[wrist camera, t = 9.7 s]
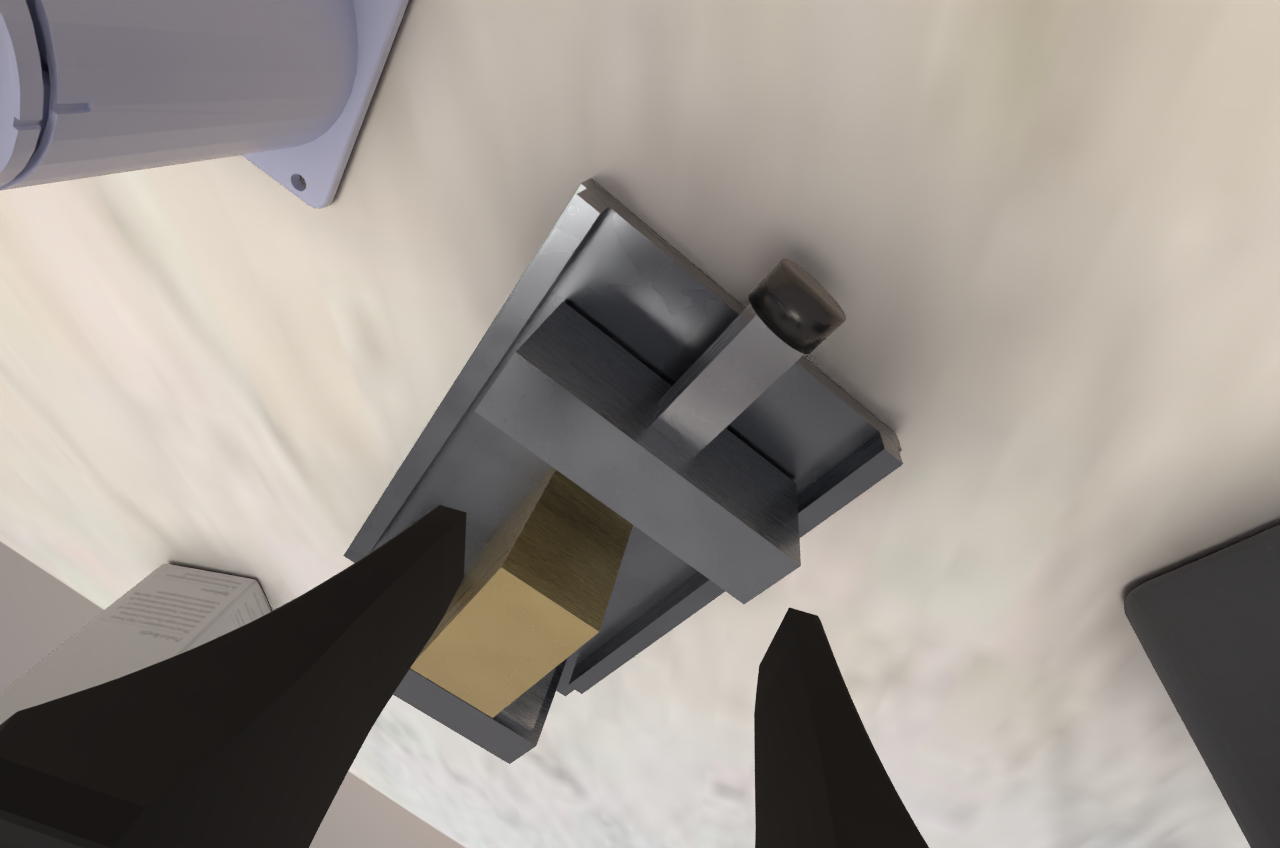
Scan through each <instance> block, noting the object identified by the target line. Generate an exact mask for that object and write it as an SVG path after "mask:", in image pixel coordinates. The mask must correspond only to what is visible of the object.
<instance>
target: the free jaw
mask: <svg viewBox="0 0 1280 848" xmlns="http://www.w3.org/2000/svg"><path fill="white" fill-rule="evenodd" d="M749 301H750V304H749V305H748V306H747V307H746V308H745V309H744V310H743V311H742V312H741V313H740V314H739V316H738V317H737V318H736V319H735V320H734V321H733V322H732V323H731V324H730V325H729V326H728V327H727V328H726V329H725V331H724V332H723V333H722V334H721V335H720V336H719V337H718V338H717V339H716V340H715V341H714V342H713V343H712V344H711V345H710V347H709V348H708V349H707V350H706V351H705V352H704V353H703V354H702V355H701V356H700V357H699V358H698V359H697V360H696V361H695V363H694V364H693V365H692V366H691V367H690V368H689V369H688V370H687V371H686V372H685V373H684V374H683V375H682V376H681V377H680V379H679V380H678V381H677V382H676V383H675V384H674V385H673V386H671V385H670V384H669V383H667V382H666V381H665V380H663V379H662V378H661V377H660V376H658V375H657V374H656V373H654V372H653V371H652V370H651V369H649V368H648V367H647V366H646V365H644V364H643V363H642V362H640V361H639V360H638V359H637V358H635V357H634V356H633V355H631V354H630V353H629V352H628V351H626V350H625V349H624V348H623V347H621V346H620V345H619V344H617V343H616V342H615V341H614V340H612V339H611V338H610V337H608V336H607V335H606V334H605V333H603V332H602V331H601V330H600V329H598V328H597V327H596V326H594V325H593V324H592V323H591V322H589V321H588V320H587V319H585V318H584V317H583V316H582V315H580V314H579V313H578V312H576V311H575V310H574V309H573V308H571V307H570V306H569V305H568V304H566V303H565V302H564V301H563V302H562V303H561V304H560V305H559V306H558V307H557V308H556V309H555V310H554V312H553V313H552V314H551V315H550V316H549V317H548V318H547V319H546V320H545V321H544V322H543V323H542V324H541V325H540V326H539V327H538V329H537V330H536V331H535V332H534V333H533V334H532V335H531V336H530V337H529V338H528V339H527V340H526V341H525V342H524V343H523V344H522V346H521V347H520V348H519V349H518V350H517V351H516V352H515V353H514V355H513V356H512V358H511V359H510V361H509V362H508V363H507V365H506V366H505V368H504V369H503V371H502V372H501V374H500V375H499V376H498V378H497V379H496V381H495V382H494V384H493V385H492V387H491V388H490V389H489V391H488V392H487V394H486V395H485V397H484V398H483V400H482V401H481V402H480V404H479V405H478V407H477V408H476V410H475V412H476V413H478V414H479V415H481V416H482V417H483V418H485V419H486V420H488V421H489V422H490V423H492V424H493V425H495V426H496V427H497V428H499V429H500V430H502V431H503V432H504V433H506V434H507V435H509V436H510V437H511V438H513V439H514V440H515V441H517V442H518V443H520V444H521V445H522V446H524V447H525V448H527V449H528V450H529V451H531V452H532V453H534V454H535V455H536V456H538V457H539V458H541V459H542V460H543V461H545V462H546V463H548V464H549V465H550V466H552V467H553V468H555V469H556V470H557V471H559V472H560V473H562V474H563V475H564V476H566V477H567V478H568V479H570V480H571V481H573V482H574V483H575V484H577V485H578V486H580V487H581V488H582V489H584V490H585V491H587V492H588V493H589V494H591V495H592V496H594V497H595V498H596V499H598V500H599V501H601V502H602V503H603V504H605V505H606V506H608V507H609V508H610V509H612V510H613V511H615V512H616V513H617V514H619V515H620V516H622V517H623V518H624V519H626V520H627V521H628V522H630V523H631V524H633V525H634V526H635V527H637V528H638V529H640V530H641V531H642V532H644V533H645V534H647V535H648V536H649V537H651V538H652V539H654V540H655V541H656V542H658V543H659V544H661V545H662V546H663V547H665V548H666V549H668V550H669V551H670V552H672V553H673V554H675V555H676V556H677V557H679V558H680V559H682V560H683V561H684V562H686V563H687V564H688V565H690V566H691V567H693V568H694V569H695V570H697V571H698V572H700V573H701V574H702V575H704V576H705V577H707V578H708V579H709V580H711V581H712V582H714V583H715V584H716V585H718V586H719V587H721V588H722V589H723V590H725V591H726V592H728V593H729V594H730V595H732V596H733V597H735V598H736V599H737V600H739V601H740V602H742V603H743V604H745V603H747V602H748V601H750V600H751V599H753V598H754V597H756V596H757V595H759V594H760V593H762V592H763V591H764V590H766V589H767V588H769V587H770V586H772V585H773V584H775V583H776V582H778V581H779V580H781V579H782V578H784V577H785V576H786V575H788V574H789V573H791V572H792V571H794V570H795V569H797V568H798V567H800V566H801V561H800V542H799V523H798V504H797V485H796V483H795V482H794V481H793V480H791V479H790V478H789V477H787V476H786V475H785V474H784V473H782V472H781V471H780V470H779V469H777V468H776V467H775V466H773V465H772V464H771V463H770V462H768V461H767V460H766V459H764V458H763V457H762V456H761V455H759V454H758V453H757V452H756V451H754V450H753V449H752V448H750V447H749V446H748V445H747V444H745V443H744V442H743V441H741V440H740V439H739V438H738V437H736V436H735V435H734V434H732V433H731V432H730V431H729V430H727V429H726V427H727V426H728V425H729V424H730V423H731V422H732V421H733V420H734V419H735V418H737V417H738V416H739V415H740V414H741V413H742V412H743V411H744V410H745V409H746V408H747V407H748V406H749V405H750V404H752V403H753V402H754V401H755V400H756V399H757V398H758V397H759V396H760V395H761V394H762V393H763V392H764V391H765V390H767V389H768V388H769V387H770V386H771V385H772V384H773V383H774V382H775V381H776V380H777V379H778V378H779V377H780V376H781V375H783V374H784V373H785V372H786V371H787V370H788V369H789V368H790V367H791V366H792V365H793V364H794V363H795V362H796V361H798V360H799V359H800V358H801V357H802V356H803V355H804V354H810V353H811V352H812V351H813V350H814V349H815V348H816V347H817V346H818V345H819V344H820V343H821V342H823V341H824V340H825V339H826V338H827V337H828V336H829V335H830V334H831V333H832V332H833V331H834V330H835V329H837V328H838V327H839V326H840V325H841V324H842V323H843V322H844V321H845V320H846V316H845V314H844V312H843V310H842V309H841V307H840V306H839V305H838V303H837V302H836V301H835V300H834V298H833V297H832V296H831V295H830V294H829V293H828V292H827V291H826V290H825V289H824V288H823V287H822V286H821V285H820V284H819V283H818V282H817V281H816V280H815V279H814V278H813V277H812V276H811V275H809V274H808V273H807V272H806V271H804V270H803V269H802V268H801V267H799V266H798V265H796V264H795V263H793V262H791V261H789V260H787V259H783V260H782V261H781V262H780V263H779V264H778V265H777V266H776V267H775V268H774V269H773V270H772V272H771V273H770V274H769V275H768V276H767V277H766V278H765V279H764V280H763V281H762V282H761V283H760V284H759V286H758V287H757V288H756V289H755V290H754V291H753V292H752V293H751V294H750V295H749Z"/></svg>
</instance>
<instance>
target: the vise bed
mask: <svg viewBox="0 0 1280 848" xmlns="http://www.w3.org/2000/svg"><path fill="white" fill-rule="evenodd" d="M563 301H564V302H565V303H566V304H568V305H569V306H570V307H571V308H573V309H574V310H575V311H576V312H578V313H579V314H580V315H582V316H583V317H584V318H585V319H587V320H588V321H589V322H591V323H592V324H593V325H594V326H596V327H597V328H598V329H600V330H601V331H602V332H603V333H605V334H606V335H607V336H608V337H610V338H611V339H612V340H614V341H615V342H616V343H617V344H619V345H620V346H621V347H623V348H624V349H625V350H626V351H628V352H629V353H630V354H631V355H633V356H634V357H635V358H637V359H638V360H639V361H640V362H642V363H643V364H644V365H646V366H647V367H648V368H649V369H651V370H652V371H653V372H654V373H656V374H657V375H658V376H660V377H661V378H662V379H663V380H665V381H666V382H667V383H669V384H670V385H671V386H673V385H674V384H675V383H676V382H677V381H678V380H679V379H680V377H681V376H682V375H683V374H684V373H685V372H686V371H687V370H688V369H689V368H690V367H691V366H692V365H693V364H694V363H695V361H696V360H697V359H698V358H699V357H700V356H701V355H702V354H703V353H704V352H705V351H706V350H707V349H708V348H709V347H710V345H711V344H712V343H713V342H714V341H715V340H716V339H717V338H718V337H719V336H720V335H721V334H722V333H723V332H724V331H725V329H726V328H727V327H728V326H729V325H730V324H731V323H732V322H733V321H734V320H735V319H736V318H737V317H738V316H739V314H740V313H741V312H742V311H743V310H744V309H745V307H744V306H742V305H741V304H740V303H739V302H738V301H736V300H735V299H734V298H733V297H732V296H730V295H729V294H728V293H727V292H726V291H725V290H723V289H722V288H721V287H720V286H719V285H717V284H716V283H715V282H714V281H713V280H711V279H710V278H709V277H708V276H707V275H705V274H704V273H703V272H702V271H701V270H699V269H698V268H697V267H696V266H695V265H693V264H692V263H691V262H690V261H689V260H687V259H686V258H685V257H684V256H683V255H682V254H680V253H679V252H678V251H677V250H676V249H674V248H673V247H672V246H671V245H670V244H668V243H667V242H666V241H665V240H664V239H662V238H661V237H660V236H659V235H658V234H656V233H655V232H654V231H653V230H652V229H650V228H649V227H648V226H647V225H646V224H644V223H643V222H642V221H641V220H640V219H638V218H637V217H636V216H635V215H634V214H633V213H631V212H630V211H629V210H628V209H627V208H625V207H624V206H623V205H622V204H621V203H619V202H618V201H617V200H616V199H615V198H613V197H612V196H611V195H610V194H609V193H607V192H606V191H605V190H604V189H603V188H601V187H600V186H599V185H598V184H597V183H595V182H594V181H593V180H592V179H591V178H590V179H589V180H587V181H585V182H583V183H581V185H580V186H579V188H578V189H577V191H576V192H575V194H574V196H573V197H572V199H571V200H570V202H569V203H568V205H567V207H566V208H565V210H564V211H563V213H562V214H561V216H560V217H559V219H558V221H557V222H556V224H555V225H554V227H553V228H552V230H551V232H550V233H549V235H548V236H547V238H546V239H545V241H544V243H543V244H542V246H541V247H540V249H539V250H538V252H537V254H536V255H535V257H534V258H533V260H532V261H531V263H530V265H529V266H528V268H527V269H526V271H525V272H524V274H523V275H522V277H521V279H520V280H519V282H518V283H517V285H516V286H515V288H514V290H513V291H512V293H511V294H510V296H509V297H508V299H507V301H506V302H505V304H504V305H503V307H502V308H501V310H500V312H499V313H498V315H497V316H496V318H495V319H494V321H493V322H492V324H491V326H490V327H489V329H488V330H487V332H486V333H485V335H484V337H483V338H482V340H481V341H480V343H479V344H478V346H477V348H476V349H475V351H474V352H473V354H472V355H471V357H470V359H469V360H468V362H467V363H466V365H465V366H464V368H463V370H462V371H461V373H460V374H459V376H458V377H457V379H456V380H455V382H454V384H453V385H452V387H451V388H450V390H449V391H448V393H447V395H446V396H445V398H444V399H443V401H442V402H441V404H440V406H439V407H438V409H437V410H436V412H435V413H434V415H433V417H432V418H431V420H430V421H429V423H428V424H427V426H426V427H425V429H424V431H423V432H422V434H421V435H420V437H419V438H418V440H417V442H416V443H415V445H414V446H413V448H412V449H411V451H410V453H409V454H408V456H407V457H406V459H405V460H404V462H403V464H402V465H401V467H400V468H399V470H398V471H397V473H396V475H395V476H394V478H393V479H392V481H391V482H390V484H389V485H388V487H387V489H386V490H385V492H384V493H383V495H382V496H381V498H380V500H379V501H378V503H377V504H376V506H375V507H374V509H373V511H372V512H371V514H370V515H369V517H368V518H367V520H366V522H365V523H364V525H363V526H362V528H361V529H360V531H359V533H358V534H357V536H356V537H355V539H354V540H353V542H352V543H351V545H350V547H349V548H348V550H347V551H346V553H345V554H344V556H345V557H346V558H348V559H350V560H351V561H353V562H354V563H356V562H357V561H359V560H360V559H362V558H363V557H365V556H366V555H368V554H369V553H371V552H373V551H374V550H376V549H377V548H379V547H380V546H382V545H383V544H385V543H386V542H387V541H389V540H390V539H392V538H393V537H395V536H396V535H398V534H399V533H400V532H402V531H403V530H405V529H406V528H407V527H409V526H410V525H412V524H413V523H414V522H416V521H417V520H419V519H420V518H421V517H423V516H424V515H426V514H427V513H428V512H430V511H431V510H433V509H434V508H435V507H437V506H439V505H442V506H446V507H449V508H453V509H456V510H459V511H463V512H466V513H467V514H466V538H465V562H464V577H463V579H462V581H463V580H464V578H465V576H466V575H467V573H468V571H469V570H470V568H471V567H472V565H473V563H474V562H475V560H476V559H477V557H478V555H479V554H480V552H481V550H482V549H483V548H484V547H485V545H486V544H487V543H488V542H489V541H490V540H491V538H492V537H493V536H494V535H495V534H496V533H497V531H498V530H499V529H500V528H501V527H502V526H503V524H504V523H505V522H506V521H507V520H508V519H509V517H510V516H511V515H512V514H513V513H514V512H515V510H516V509H517V508H518V507H519V506H520V505H521V504H522V502H523V501H524V500H525V499H526V498H527V497H528V495H529V494H530V493H531V492H532V491H533V490H534V488H535V487H536V486H537V485H538V484H539V483H540V481H541V480H542V479H543V478H544V477H545V476H546V474H547V473H548V472H549V471H550V470H551V469H552V466H550V465H549V464H548V463H546V462H545V461H543V460H542V459H541V458H539V457H538V456H536V455H535V454H534V453H532V452H531V451H529V450H528V449H527V448H525V447H524V446H522V445H521V444H520V443H518V442H517V441H515V440H514V439H513V438H511V437H510V436H509V435H507V434H506V433H504V432H503V431H502V430H500V429H499V428H497V427H496V426H495V425H493V424H492V423H490V422H489V421H488V420H486V419H485V418H483V417H482V416H481V415H479V414H478V413H476V412H475V410H476V408H477V407H478V405H479V404H480V402H481V401H482V400H483V398H484V397H485V395H486V394H487V392H488V391H489V389H490V388H491V387H492V385H493V384H494V382H495V381H496V379H497V378H498V376H499V375H500V374H501V372H502V371H503V369H504V368H505V366H506V365H507V363H508V362H509V361H510V359H511V358H512V356H513V355H514V353H515V352H516V351H517V350H518V349H519V348H520V347H521V346H522V344H523V343H524V342H525V341H526V340H527V339H528V338H529V337H530V336H531V335H532V334H533V333H534V332H535V331H536V330H537V329H538V327H539V326H540V325H541V324H542V323H543V322H544V321H545V320H546V319H547V318H548V317H549V316H550V315H551V314H552V313H553V312H554V310H555V309H556V308H557V307H558V306H559V305H560V304H561V303H562V302H563ZM726 429H727V430H729V431H730V432H731V433H732V434H734V435H735V436H736V437H738V438H739V439H740V440H741V441H743V442H744V443H745V444H747V445H748V446H749V447H750V448H752V449H753V450H754V451H756V452H757V453H758V454H759V455H761V456H762V457H763V458H764V459H766V460H767V461H768V462H770V463H771V464H772V465H773V466H775V467H776V468H777V469H779V470H780V471H781V472H782V473H784V474H785V475H786V476H787V477H789V478H790V479H791V480H793V481H794V482H795V483H796V485H797V504H798V523H799V538H800V537H802V536H803V535H805V534H806V533H807V532H809V531H810V530H812V529H813V528H814V527H816V526H817V525H819V524H820V523H821V522H823V521H824V520H826V519H827V518H828V517H830V516H831V515H833V514H834V513H835V512H837V511H838V510H840V509H841V508H842V507H844V506H845V505H847V504H848V503H849V502H851V501H852V500H853V499H855V498H856V497H858V496H859V495H860V494H862V493H863V492H865V491H866V490H867V489H869V488H870V487H872V486H873V485H874V484H876V483H877V482H879V481H880V480H881V479H883V478H884V477H886V476H887V475H888V474H890V473H891V472H893V471H894V470H895V469H897V468H898V467H900V466H901V465H902V464H903V462H902V459H901V456H900V453H899V452H900V451H901V447H900V444H899V441H898V438H897V435H896V434H895V433H894V432H893V431H892V430H891V429H889V428H888V427H887V426H886V425H885V424H883V423H882V422H881V421H880V420H879V419H877V418H876V417H875V416H874V415H873V414H872V413H870V412H869V411H868V410H867V409H866V408H864V407H863V406H862V405H861V404H860V403H858V402H857V401H856V400H855V399H854V398H852V397H851V396H850V395H849V394H848V393H846V392H845V391H844V390H843V389H842V388H840V387H839V386H838V385H837V384H836V383H834V382H833V381H832V380H831V379H830V378H828V377H827V376H826V375H825V374H824V373H823V372H821V371H820V370H819V369H818V368H817V367H815V366H814V365H813V364H812V363H811V362H809V361H808V360H807V359H806V358H805V357H803V356H802V357H801V358H800V359H799V360H798V361H796V362H795V363H794V364H793V365H792V366H791V367H790V368H789V369H788V370H787V371H786V372H785V373H784V374H783V375H781V376H780V377H779V378H778V379H777V380H776V381H775V382H774V383H773V384H772V385H771V386H770V387H769V388H768V389H767V390H765V391H764V392H763V393H762V394H761V395H760V396H759V397H758V398H757V399H756V400H755V401H754V402H753V403H752V404H750V405H749V406H748V407H747V408H746V409H745V410H744V411H743V412H742V413H741V414H740V415H739V416H738V417H737V418H735V419H734V420H733V421H732V422H731V423H730V424H729V425H728V426H727V427H726ZM462 581H461V583H462ZM461 583H460V584H461ZM459 586H460V585H459ZM458 588H459V587H458ZM724 592H725V590H723V589H722V588H721V587H719V586H718V585H716V584H715V583H714V582H712V581H711V580H709V579H708V578H707V577H705V576H704V575H702V574H701V573H700V572H698V571H697V570H695V569H694V568H693V567H691V566H690V565H688V564H687V563H686V562H684V561H683V560H682V559H680V558H679V557H677V556H676V555H675V554H673V553H672V552H670V551H669V550H668V549H666V548H665V547H663V546H662V545H661V544H659V543H658V542H656V541H655V540H654V539H652V538H651V537H649V536H648V535H647V534H645V533H644V532H642V531H641V530H640V529H638V528H637V527H635V526H634V525H633V527H632V530H631V533H630V536H629V539H628V543H627V546H626V549H625V552H624V555H623V558H622V562H621V565H620V568H619V571H618V574H617V577H616V581H615V584H614V587H613V590H612V593H611V596H610V600H609V603H608V606H607V609H606V612H605V615H604V619H603V622H602V625H601V628H600V631H599V633H597V634H596V635H595V636H594V637H592V638H591V639H590V640H589V641H587V642H586V643H585V644H584V645H583V646H581V647H580V648H579V649H578V650H576V651H575V652H574V653H573V654H571V655H570V656H569V657H568V658H566V659H565V660H564V661H563V662H561V663H560V664H559V665H558V666H556V667H555V668H554V669H553V670H552V671H550V672H549V673H548V674H547V675H545V676H544V677H543V678H542V679H540V680H539V681H538V682H537V683H535V684H534V685H533V686H532V687H530V688H529V689H528V690H527V691H525V692H524V693H523V694H522V695H521V696H519V697H518V698H517V699H516V700H514V701H513V702H512V703H511V704H509V705H508V706H507V707H506V708H504V709H503V710H502V711H501V712H499V713H498V714H497V715H496V716H494V717H493V718H492V717H490V716H488V715H487V714H485V713H483V712H482V711H480V710H478V709H477V708H475V707H474V706H472V705H470V704H469V703H467V702H465V701H464V700H462V699H460V698H459V697H457V696H455V695H454V694H452V693H450V692H449V691H447V690H445V689H444V688H442V687H440V686H439V685H437V684H436V683H434V682H432V681H431V680H429V679H427V678H426V677H424V676H422V675H421V674H419V673H417V672H416V671H414V670H412V669H411V668H410V669H409V671H408V672H407V674H406V675H405V677H404V678H403V680H402V681H401V683H400V684H399V686H398V687H397V689H396V690H395V692H394V693H393V695H395V696H396V697H398V698H400V699H402V700H403V701H405V702H407V703H408V704H410V705H412V706H413V707H415V708H417V709H418V710H420V711H422V712H423V713H425V714H427V715H428V716H430V717H432V718H433V719H435V720H437V721H438V722H440V723H442V724H443V725H445V726H447V727H448V728H450V729H452V730H454V731H455V732H457V733H459V734H460V735H462V736H464V737H465V738H467V739H469V740H470V741H472V742H474V743H475V744H477V745H479V746H480V747H482V748H484V749H485V750H487V751H489V752H490V753H492V754H494V755H495V756H497V757H499V758H501V759H502V760H504V761H506V762H507V763H509V764H510V763H512V762H513V761H515V760H516V759H518V758H519V757H521V756H522V755H524V754H525V753H526V752H528V751H529V750H531V749H532V748H534V747H535V746H536V745H537V742H538V739H539V737H540V734H541V731H542V728H543V725H544V723H545V720H546V717H547V714H548V711H549V709H550V706H551V703H552V700H553V697H554V695H555V692H556V691H558V692H559V693H561V694H563V695H564V696H566V695H568V694H569V693H571V692H572V691H573V690H577V691H578V692H580V693H581V694H582V693H584V692H585V691H587V690H588V689H589V688H591V687H592V686H594V685H595V684H596V683H598V682H599V681H601V680H602V679H603V678H605V677H606V676H608V675H609V674H610V673H612V672H613V671H615V670H616V669H617V668H619V667H620V666H622V665H623V664H624V663H626V662H627V661H628V660H630V659H631V658H633V657H634V656H635V655H637V654H638V653H640V652H641V651H642V650H644V649H645V648H647V647H648V646H649V645H651V644H652V643H654V642H655V641H656V640H658V639H659V638H661V637H662V636H663V635H665V634H666V633H668V632H669V631H670V630H672V629H673V628H675V627H676V626H677V625H679V624H680V623H682V622H683V621H684V620H686V619H687V618H689V617H690V616H691V615H693V614H694V613H696V612H697V611H698V610H700V609H701V608H703V607H704V606H705V605H707V604H708V603H710V602H711V601H712V600H714V599H715V598H717V597H718V596H719V595H721V594H722V593H724Z"/></svg>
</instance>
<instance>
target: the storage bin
mask: <svg viewBox="0 0 1280 848" xmlns="http://www.w3.org/2000/svg"><path fill="white" fill-rule="evenodd" d="M1124 609H1125V614H1126V616H1127V618H1128V620H1129V622H1130V624H1131V626H1132V628H1133V629H1134V631H1135V633H1136V635H1137V637H1138V639H1139V641H1140V643H1141V644H1142V646H1143V648H1144V650H1145V652H1146V654H1147V656H1148V658H1149V659H1150V661H1151V663H1152V665H1153V667H1154V669H1155V671H1156V672H1157V674H1158V676H1159V678H1160V680H1161V682H1162V684H1163V685H1164V687H1165V689H1166V691H1167V693H1168V695H1169V697H1170V698H1171V700H1172V702H1173V704H1174V706H1175V708H1176V709H1177V711H1178V713H1179V715H1180V717H1181V719H1182V721H1183V722H1184V724H1185V726H1186V728H1187V730H1188V732H1189V734H1190V735H1191V737H1192V739H1193V741H1194V743H1195V745H1196V747H1197V748H1198V750H1199V752H1200V754H1201V756H1202V758H1203V759H1204V761H1205V763H1206V765H1207V767H1208V769H1209V771H1210V772H1211V774H1212V776H1213V778H1214V780H1215V782H1216V784H1217V785H1218V787H1219V789H1220V791H1221V793H1222V795H1223V797H1224V798H1225V800H1226V802H1227V804H1228V806H1229V808H1230V809H1231V811H1232V813H1233V815H1234V817H1235V819H1236V821H1237V823H1238V824H1239V826H1240V828H1241V830H1242V832H1243V834H1244V836H1245V837H1246V839H1247V841H1248V843H1249V845H1250V847H1251V848H1280V524H1279V525H1277V526H1275V527H1272V528H1270V529H1268V530H1265V531H1263V532H1261V533H1258V534H1256V535H1254V536H1252V537H1249V538H1247V539H1245V540H1242V541H1240V542H1238V543H1236V544H1233V545H1231V546H1229V547H1226V548H1224V549H1222V550H1220V551H1217V552H1215V553H1213V554H1210V555H1208V556H1206V557H1204V558H1201V559H1199V560H1196V561H1194V562H1192V563H1189V564H1187V565H1185V566H1182V567H1180V568H1177V569H1175V570H1173V571H1170V572H1168V573H1165V574H1163V575H1161V576H1158V577H1156V578H1154V579H1151V580H1149V581H1147V582H1145V583H1143V584H1141V585H1139V586H1138V587H1136V588H1135V589H1133V590H1132V591H1131V592H1130V593H1129V594H1128V596H1127V598H1126V600H1125V602H1124Z"/></svg>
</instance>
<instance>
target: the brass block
mask: <svg viewBox="0 0 1280 848" xmlns="http://www.w3.org/2000/svg"><path fill="white" fill-rule="evenodd" d="M632 527H633V524H631V523H630V522H628V521H627V520H626V519H624V518H623V517H622V516H620V515H619V514H617V513H616V512H615V511H613V510H612V509H610V508H609V507H608V506H606V505H605V504H603V503H602V502H601V501H599V500H598V499H596V498H595V497H594V496H592V495H591V494H589V493H588V492H587V491H585V490H584V489H582V488H581V487H580V486H578V485H577V484H575V483H574V482H573V481H571V480H570V479H568V478H567V477H566V476H564V475H563V474H562V473H560V472H559V471H557V470H556V469H555V468H553V467H552V469H551V470H550V471H549V472H548V473H547V474H546V476H545V477H544V478H543V479H542V480H541V481H540V483H539V484H538V485H537V486H536V487H535V488H534V490H533V491H532V492H531V493H530V494H529V495H528V497H527V498H526V499H525V500H524V501H523V502H522V504H521V505H520V506H519V507H518V508H517V509H516V510H515V512H514V513H513V514H512V515H511V516H510V517H509V519H508V520H507V521H506V522H505V523H504V524H503V526H502V527H501V528H500V529H499V530H498V531H497V533H496V534H495V535H494V536H493V537H492V538H491V540H490V541H489V542H488V543H487V544H486V545H485V547H484V548H483V549H482V550H481V552H480V554H479V555H478V557H477V559H476V560H475V562H474V563H473V565H472V567H471V568H470V570H469V571H468V573H467V575H466V576H465V578H464V580H463V581H462V583H461V584H460V586H459V588H458V589H457V591H456V593H455V596H454V598H453V600H452V602H451V603H450V605H449V607H448V609H447V611H446V613H445V615H444V617H443V619H442V620H441V622H440V623H439V625H438V627H437V628H436V630H435V631H434V633H433V634H432V636H431V637H430V639H429V640H428V642H427V643H426V645H425V646H424V648H423V650H422V651H421V653H420V654H419V656H418V657H417V659H416V660H415V662H414V663H413V665H412V666H411V669H412V670H414V671H416V672H417V673H419V674H421V675H422V676H424V677H426V678H427V679H429V680H431V681H432V682H434V683H436V684H437V685H439V686H440V687H442V688H444V689H445V690H447V691H449V692H450V693H452V694H454V695H455V696H457V697H459V698H460V699H462V700H464V701H465V702H467V703H469V704H470V705H472V706H474V707H475V708H477V709H478V710H480V711H482V712H483V713H485V714H487V715H488V716H490V717H492V718H493V717H494V716H496V715H497V714H498V713H499V712H501V711H502V710H503V709H504V708H506V707H507V706H508V705H509V704H511V703H512V702H513V701H514V700H516V699H517V698H518V697H519V696H521V695H522V694H523V693H524V692H525V691H527V690H528V689H529V688H530V687H532V686H533V685H534V684H535V683H537V682H538V681H539V680H540V679H542V678H543V677H544V676H545V675H547V674H548V673H549V672H550V671H552V670H553V669H554V668H555V667H556V666H558V665H559V664H560V663H561V662H563V661H564V660H565V659H566V658H568V657H569V656H570V655H571V654H573V653H574V652H575V651H576V650H578V649H579V648H580V647H581V646H583V645H584V644H585V643H586V642H587V641H589V640H590V639H591V638H592V637H594V636H595V635H596V634H597V633H599V631H600V628H601V625H602V622H603V619H604V615H605V612H606V609H607V606H608V603H609V600H610V596H611V593H612V590H613V587H614V584H615V581H616V577H617V574H618V571H619V568H620V565H621V562H622V558H623V555H624V552H625V549H626V546H627V543H628V539H629V536H630V533H631V530H632Z"/></svg>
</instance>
